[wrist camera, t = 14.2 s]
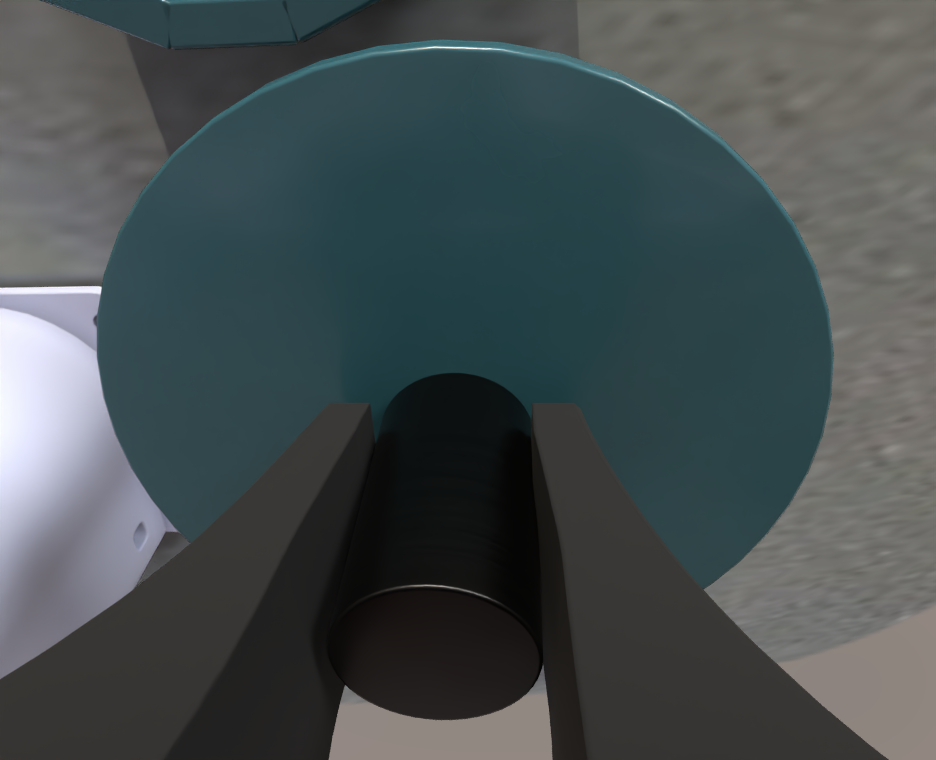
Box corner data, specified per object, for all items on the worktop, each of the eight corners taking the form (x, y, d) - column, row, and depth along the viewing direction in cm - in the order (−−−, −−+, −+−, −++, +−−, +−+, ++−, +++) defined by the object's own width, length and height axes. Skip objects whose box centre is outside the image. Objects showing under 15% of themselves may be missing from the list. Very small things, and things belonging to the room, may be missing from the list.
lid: (739, 615, 15) (831, 899, 11) (216, 605, 15) (105, 868, 11) (902, 16, 9) (1284, 121, 4) (17, 45, 9) (-397, 161, 5)
